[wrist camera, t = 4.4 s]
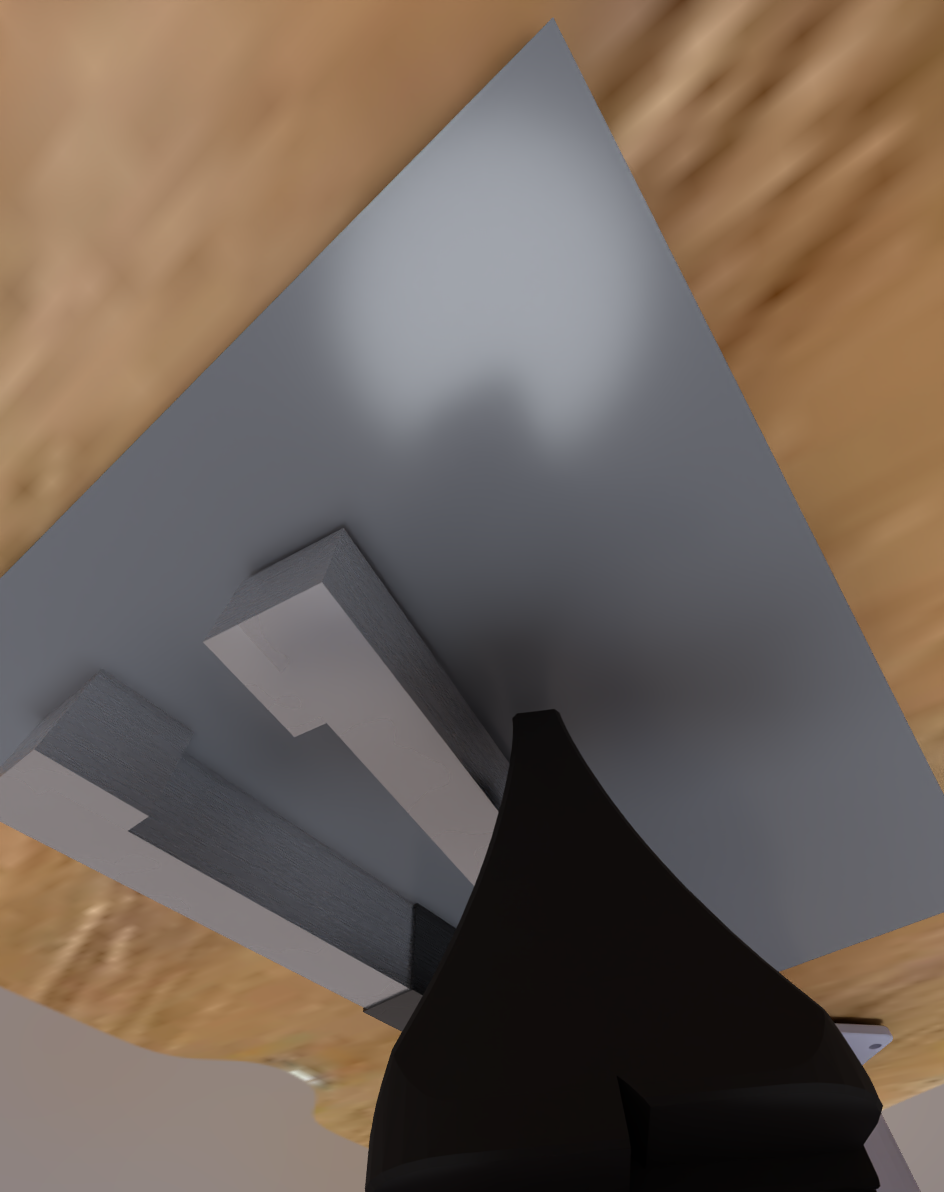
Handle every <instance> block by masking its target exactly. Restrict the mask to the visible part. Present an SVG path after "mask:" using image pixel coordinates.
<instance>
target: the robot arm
mask: <svg viewBox="0 0 944 1192" xmlns="http://www.w3.org/2000/svg"><path fill="white" fill-rule="evenodd" d="M512 721H513V738H512V749H511V756H510V763H509V769H508V774H507V778H506V783H505V788H504V793H503V797H502V801H501V805H500V809H499V812H498V816H497V820H496V823H495V827H494V830H493V834H492V837H491V840H490V843H489V846H488V849H487V852H486V855H485V858H484V861H483V864H482V867H481V869H480V872H479V875H478V878H477V880H476V883H475V885H474V888H473V890H472V893H471V895H470V898H469V900H468V902H467V905H466V907H465V910H464V912H463V915H462V917H461V919H460V921H459V924H458V926H457V928H456V930H455V932H454V935H453V937H452V939H451V941H450V943H449V945H448V947H447V949H446V951H445V953H444V955H443V957H442V959H441V961H440V963H439V965H438V967H437V969H436V971H435V973H434V975H433V977H432V979H431V981H430V983H429V985H428V987H427V989H426V991H425V992H424V994H423V996H422V998H421V1000H420V1001H419V1003H418V1005H417V1007H416V1008H415V1010H414V1012H413V1014H412V1015H411V1017H410V1019H409V1021H408V1022H407V1024H406V1026H405V1028H404V1029H403V1031H402V1033H401V1035H400V1036H399V1038H398V1040H397V1042H396V1043H395V1045H394V1047H393V1049H392V1052H391V1055H390V1058H389V1061H388V1064H387V1068H386V1071H385V1074H384V1078H383V1081H382V1084H381V1088H380V1092H379V1095H378V1099H377V1103H376V1108H375V1112H374V1117H373V1123H372V1129H371V1134H370V1141H369V1151H368V1163H367V1173H366V1184H365V1192H921V1191H920V1189H919V1187H918V1185H917V1183H916V1181H915V1179H914V1177H913V1175H912V1173H911V1171H910V1169H909V1167H908V1165H907V1163H906V1161H905V1159H904V1157H903V1155H902V1153H901V1152H900V1149H899V1147H898V1145H897V1143H896V1141H895V1139H894V1137H893V1135H892V1133H891V1132H890V1129H889V1127H888V1125H887V1123H886V1122H885V1120H884V1117H883V1116H882V1113H881V1111H882V1107H883V1105H882V1103H881V1101H880V1099H879V1097H878V1095H877V1093H876V1090H875V1088H874V1086H873V1084H872V1082H871V1080H870V1078H869V1076H868V1074H867V1073H866V1071H865V1069H864V1068H863V1066H862V1065H863V1064H864V1063H865V1062H867V1061H868V1060H869V1059H870V1058H872V1057H873V1056H874V1055H875V1054H876V1053H878V1052H879V1051H880V1050H881V1049H883V1048H884V1047H885V1046H886V1045H888V1044H889V1043H890V1042H891V1041H892V1040H893V1036H892V1034H891V1033H890V1031H889V1029H888V1028H887V1027H885V1026H882V1025H862V1024H842V1023H834V1022H833V1020H832V1019H831V1018H830V1016H829V1015H828V1014H827V1012H826V1011H825V1010H824V1009H823V1008H822V1007H821V1006H820V1005H818V1004H817V1003H816V1002H815V1001H813V1000H812V999H811V998H810V997H808V996H807V995H806V994H805V993H803V992H802V991H801V990H800V989H798V988H797V987H796V986H795V985H793V984H792V983H791V982H790V981H789V980H787V979H786V978H785V977H784V976H783V975H781V974H780V973H779V972H778V971H777V970H775V969H774V968H773V967H772V966H771V965H770V964H768V963H767V962H766V961H765V960H764V959H762V958H761V957H760V956H759V955H758V954H757V953H756V952H755V951H753V950H752V949H751V948H750V947H749V946H748V945H747V944H746V943H744V942H743V941H742V940H741V939H740V938H739V937H738V936H737V935H735V934H734V933H733V932H732V931H731V930H730V929H729V928H728V927H727V926H726V925H725V924H724V923H723V922H722V921H721V920H720V919H719V918H718V917H716V916H715V915H714V914H713V913H712V912H711V911H710V910H709V909H708V908H707V907H706V906H705V905H704V904H703V903H702V902H701V901H700V900H699V899H698V898H697V897H696V896H695V895H694V894H693V893H692V892H691V891H690V890H689V889H688V888H687V887H686V886H685V885H684V884H683V883H682V882H681V881H680V880H679V879H678V878H677V877H676V876H675V875H674V874H673V873H672V872H671V870H670V869H669V868H668V867H667V866H666V865H665V864H664V863H663V862H662V861H661V860H660V858H659V857H658V856H657V855H656V854H655V853H654V852H653V851H652V849H651V848H650V847H649V846H648V845H647V844H646V843H645V841H644V840H643V839H642V838H641V837H640V835H639V834H638V833H637V832H636V831H635V829H634V828H633V827H632V826H631V824H630V823H629V822H628V821H627V819H626V818H625V817H624V815H623V814H622V813H621V812H620V810H619V809H618V808H617V806H616V805H615V804H614V802H613V801H612V800H611V798H610V797H609V795H608V794H607V793H606V791H605V790H604V788H603V787H602V785H601V784H600V783H599V781H598V780H597V778H596V777H595V775H594V774H593V772H592V771H591V769H590V768H589V766H588V765H587V763H586V762H585V760H584V758H583V757H582V755H581V753H580V752H579V750H578V748H577V747H576V745H575V743H574V742H573V740H572V738H571V736H570V734H569V732H568V730H567V728H566V726H565V724H564V722H563V720H562V717H561V715H560V712H558V711H557V710H555V709H549V710H541V711H533V712H525V713H517V714H516V715H515V716H514V717H513V718H512Z"/></svg>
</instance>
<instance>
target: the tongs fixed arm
mask: <svg viewBox="0 0 944 1192" xmlns="http://www.w3.org/2000/svg"><path fill="white" fill-rule="evenodd" d="M193 734H194V732H193V731H192V730H191V729H189V728H188V727H186V726H185V725H183V724H182V723H180V722H179V721H177V720H176V719H174V718H173V717H172V716H170V715H169V714H167V713H166V712H164V711H163V710H161V709H160V708H158V707H157V706H155V705H154V704H153V703H151V702H150V701H148V700H147V699H145V698H144V697H142V696H141V695H139V694H138V693H136V692H135V691H133V690H132V689H131V688H129V687H128V686H126V685H125V684H123V683H122V682H120V681H119V680H117V679H116V678H114V677H113V676H112V675H110V674H109V673H107V672H106V671H104V670H103V669H102V670H101V671H99V672H98V673H97V674H96V675H95V676H93V677H92V678H91V679H90V680H89V681H87V682H86V683H85V684H84V685H83V686H82V687H80V688H79V689H78V690H77V691H76V692H74V693H73V694H72V695H71V696H70V697H69V698H67V699H66V700H65V701H64V702H63V703H61V704H60V705H59V706H58V707H57V708H55V709H54V710H53V711H52V712H51V713H50V714H48V715H47V716H46V717H45V718H44V719H42V720H41V722H40V723H39V724H38V725H37V726H36V727H35V728H34V729H33V731H32V732H31V733H30V734H29V735H28V736H27V737H26V738H25V740H24V741H23V742H22V743H21V744H20V745H19V746H18V748H17V749H16V750H15V751H14V752H13V753H12V754H11V755H10V757H9V758H8V759H7V760H6V761H5V762H4V763H3V764H2V766H1V767H0V822H2V823H4V824H6V825H8V826H10V827H12V828H14V829H16V830H18V831H20V832H22V833H23V834H25V835H27V836H29V837H31V838H33V839H35V840H37V841H39V842H41V843H43V844H45V845H47V846H49V847H51V848H53V849H55V850H57V851H59V852H61V853H63V854H65V855H67V856H68V857H70V858H72V859H74V860H76V861H78V862H80V863H82V864H84V865H86V866H88V867H90V868H92V869H94V870H96V871H98V872H100V873H102V874H104V875H106V876H108V877H110V878H112V879H113V880H115V881H117V882H119V883H121V884H123V885H125V886H127V887H129V888H131V889H133V890H135V891H137V892H139V893H141V894H143V895H145V896H147V897H149V898H151V899H153V900H155V901H156V902H158V903H160V904H162V905H164V906H166V907H168V908H170V909H172V910H174V911H176V912H178V913H180V914H182V915H184V916H186V917H188V918H190V919H192V920H194V921H196V922H198V923H200V924H201V925H203V926H205V927H207V928H209V929H211V930H213V931H215V932H217V933H219V934H221V935H223V936H225V937H227V938H229V939H231V940H233V941H235V942H237V943H239V944H241V945H243V946H245V947H246V948H248V949H250V950H252V951H254V952H256V953H258V954H260V955H262V956H264V957H266V958H268V959H270V960H272V961H274V962H276V963H278V964H280V965H282V966H284V967H286V968H288V969H290V970H291V971H293V972H295V973H297V974H299V975H301V976H303V977H305V978H307V979H309V980H311V981H313V982H315V983H317V984H319V985H321V986H323V987H325V988H327V989H329V990H331V991H333V992H334V993H336V994H338V995H340V996H342V997H344V998H346V999H348V1000H350V1001H352V1002H354V1003H356V1004H358V1005H360V1006H362V1007H364V1008H363V1012H364V1013H366V1014H368V1015H370V1016H372V1017H374V1018H376V1019H378V1020H380V1021H382V1022H384V1023H386V1024H388V1025H390V1026H392V1027H394V1028H396V1029H398V1030H400V1031H403V1029H404V1028H405V1026H406V1024H407V1022H408V1021H409V1019H410V1017H411V1015H412V1014H413V1012H414V1010H415V1008H416V1007H417V1005H418V1003H419V1001H420V1000H421V998H422V996H423V994H424V992H425V991H426V989H427V987H428V985H429V983H430V981H431V979H432V977H433V975H434V973H435V971H436V969H437V967H438V965H439V963H440V961H441V959H442V957H443V955H444V953H445V951H446V949H447V947H448V945H449V943H450V941H451V939H452V937H453V935H454V932H455V930H456V928H455V927H453V926H452V925H450V924H449V923H447V922H446V921H444V920H443V919H441V918H440V917H438V916H437V915H435V914H434V913H432V912H431V911H429V910H428V909H426V908H425V907H423V906H422V905H420V904H418V903H416V904H414V903H413V902H411V901H410V900H408V899H406V898H405V897H403V896H402V895H400V894H399V893H397V892H396V891H394V890H393V889H391V888H390V887H388V886H387V885H385V884H384V883H382V882H381V881H379V880H378V879H376V878H375V877H373V876H372V875H370V874H369V873H367V872H366V871H364V870H363V869H361V868H359V867H358V866H356V865H355V864H353V863H352V862H350V861H349V860H347V859H346V858H344V857H343V856H341V855H340V854H338V853H337V852H335V851H334V850H332V849H331V848H329V847H328V846H326V845H325V844H323V843H322V842H320V841H319V840H317V839H316V838H314V837H312V836H311V835H309V834H308V833H306V832H305V831H303V830H302V829H300V828H299V827H297V826H296V825H294V824H293V823H291V822H290V821H288V820H287V819H285V818H284V817H282V816H281V815H279V814H278V813H276V812H275V811H273V810H272V809H270V808H269V807H267V806H266V805H264V804H262V803H261V802H259V801H258V800H256V799H255V798H253V797H252V796H250V795H249V794H247V793H246V792H244V791H243V790H241V789H240V788H238V787H237V786H235V785H234V784H232V783H231V782H229V781H228V780H226V779H225V778H223V777H222V776H220V775H219V774H217V773H215V772H214V771H212V770H211V769H209V768H208V767H206V766H205V765H203V764H202V763H200V762H199V761H197V760H196V759H194V758H193V757H191V756H190V755H188V754H187V753H185V752H184V750H185V749H186V747H187V745H188V743H189V741H190V739H191V737H192V736H193Z"/></svg>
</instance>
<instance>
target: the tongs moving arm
mask: <svg viewBox="0 0 944 1192" xmlns="http://www.w3.org/2000/svg"><path fill="white" fill-rule="evenodd" d="M203 643H204V644H205V645H206V646H207V647H208V648H209V649H210V650H211V651H212V652H213V653H214V654H215V655H216V656H217V657H218V658H219V659H220V660H221V661H222V662H223V664H224V665H225V666H226V667H227V668H228V669H229V670H230V671H231V672H232V673H233V674H234V675H235V676H236V677H237V678H238V679H239V680H240V681H241V682H242V683H243V684H244V685H245V686H246V687H247V688H248V689H249V691H250V692H251V693H252V694H253V695H254V696H255V697H256V698H257V699H258V700H259V701H260V702H261V703H262V704H263V705H264V706H265V707H266V708H267V709H268V710H269V711H270V712H271V713H272V714H273V715H274V716H275V718H276V719H277V720H278V721H279V722H280V723H281V724H282V725H283V726H284V727H285V728H286V729H287V730H288V731H289V732H290V733H291V734H292V735H293V736H294V737H296V736H298V735H300V734H303V733H305V732H307V731H310V730H312V729H314V728H316V727H319V726H321V725H323V724H326V723H327V724H328V725H329V726H330V727H331V728H332V730H333V731H334V732H335V733H336V734H337V735H338V736H339V737H340V738H341V739H342V741H343V742H344V743H345V744H346V745H347V746H348V747H349V748H350V749H351V751H352V752H353V753H354V754H355V755H356V756H357V757H358V758H359V759H360V760H361V762H362V763H363V764H364V765H365V766H366V767H367V768H368V769H369V770H370V772H371V773H372V774H373V775H374V776H375V777H376V778H377V779H378V780H379V782H380V783H381V784H382V785H383V786H384V787H385V788H386V789H387V790H388V791H389V793H390V794H391V795H392V796H393V797H394V798H395V799H396V800H397V801H398V803H399V804H400V805H401V806H402V807H403V808H404V809H405V810H406V811H407V812H408V814H409V815H410V816H411V817H412V818H413V819H414V820H415V821H416V822H417V824H418V825H419V826H420V827H421V828H422V829H423V830H424V831H425V832H426V834H427V835H428V836H429V837H430V838H431V839H432V840H433V841H434V842H435V843H436V845H437V846H438V847H439V848H440V849H441V850H442V851H443V852H444V853H445V855H446V856H447V857H448V858H449V859H450V860H451V861H452V862H453V863H454V864H455V866H456V867H457V868H458V869H459V870H460V871H461V872H462V873H463V874H464V876H465V877H466V878H467V879H468V880H469V881H470V882H471V883H472V884H473V886H474V885H475V883H476V880H477V878H478V875H479V872H480V869H481V867H482V864H483V861H484V858H485V855H486V852H487V849H488V846H489V843H490V840H491V837H492V834H493V830H494V827H495V823H496V820H497V816H498V812H499V809H500V805H501V801H502V797H503V793H504V788H505V783H506V778H507V774H508V769H509V762H508V761H507V759H506V758H505V757H504V755H503V754H502V752H501V751H500V749H499V748H498V747H497V745H496V744H495V742H494V741H493V740H492V738H491V737H490V735H489V734H488V732H487V731H486V730H485V728H484V727H483V725H482V724H481V722H480V721H479V720H478V718H477V717H476V715H475V714H474V713H473V711H472V710H471V708H470V707H469V705H468V704H467V703H466V701H465V700H464V698H463V697H462V696H461V694H460V693H459V691H458V690H457V688H456V687H455V686H454V684H453V683H452V681H451V680H450V678H449V677H448V676H447V674H446V673H445V671H444V670H443V669H442V667H441V666H440V664H439V663H438V661H437V660H436V659H435V657H434V656H433V654H432V653H431V652H430V650H429V649H428V647H427V646H426V644H425V643H424V642H423V640H422V639H421V637H420V636H419V634H418V633H417V632H416V630H415V629H414V627H413V626H412V625H411V623H410V622H409V620H408V619H407V617H406V616H405V615H404V613H403V612H402V610H401V609H400V607H399V606H398V605H397V603H396V602H395V600H394V599H393V598H392V596H391V595H390V593H389V592H388V590H387V589H386V588H385V586H384V585H383V583H382V582H381V581H380V579H379V578H378V576H377V575H376V573H375V572H374V571H373V569H372V568H371V566H370V565H369V563H368V562H367V561H366V559H365V558H364V556H363V555H362V554H361V552H360V551H359V549H358V548H357V546H356V545H355V544H354V542H353V541H352V539H351V538H350V537H349V535H348V534H347V532H346V531H345V529H344V528H343V529H341V530H339V531H337V532H335V533H333V534H331V535H329V536H327V537H325V538H323V539H321V540H320V541H318V542H316V543H314V544H312V545H310V546H308V547H306V548H304V549H302V550H300V551H299V552H297V553H295V554H293V555H291V556H289V557H287V558H285V559H283V560H281V561H279V562H277V563H276V564H274V565H272V566H270V567H268V568H266V569H264V570H262V571H260V572H258V573H256V574H254V575H253V576H251V577H249V578H247V579H245V580H243V581H242V582H241V584H240V585H239V587H238V589H237V590H236V592H235V593H234V595H233V596H232V598H231V599H230V601H229V602H228V604H227V606H226V607H225V609H224V610H223V612H222V613H221V615H220V616H219V618H218V620H217V621H216V623H215V624H214V626H213V627H212V629H211V630H210V632H209V633H208V635H207V637H206V638H205V640H204V641H203Z"/></svg>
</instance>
